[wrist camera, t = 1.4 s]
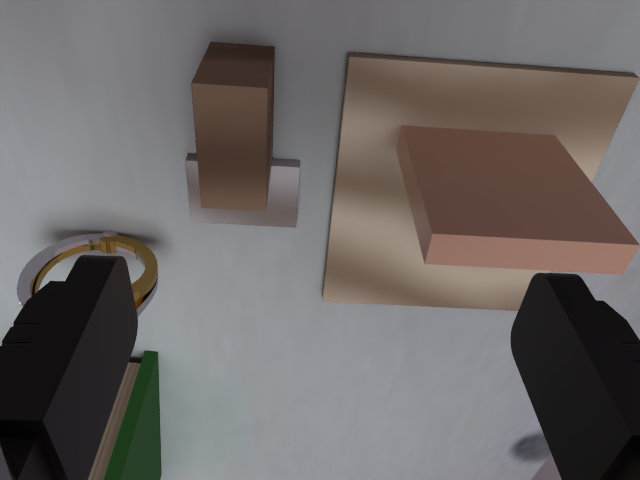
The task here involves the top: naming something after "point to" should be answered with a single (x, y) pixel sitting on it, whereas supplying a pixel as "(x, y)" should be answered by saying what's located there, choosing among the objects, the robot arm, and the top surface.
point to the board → (457, 113)
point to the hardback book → (133, 427)
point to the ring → (97, 241)
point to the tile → (507, 203)
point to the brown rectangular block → (238, 142)
